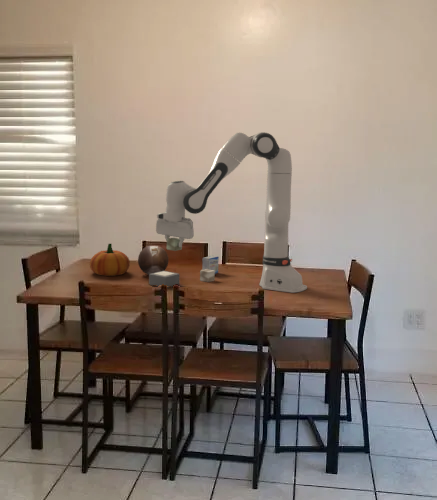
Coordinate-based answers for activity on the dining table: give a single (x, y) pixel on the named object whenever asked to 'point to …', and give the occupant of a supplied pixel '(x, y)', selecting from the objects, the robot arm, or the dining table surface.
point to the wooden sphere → (153, 259)
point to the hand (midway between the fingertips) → (174, 245)
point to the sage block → (173, 244)
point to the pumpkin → (109, 262)
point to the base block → (164, 278)
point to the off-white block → (207, 275)
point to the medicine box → (211, 263)
